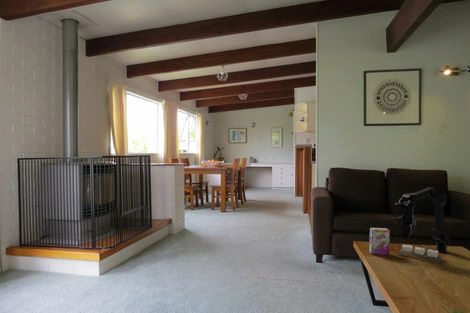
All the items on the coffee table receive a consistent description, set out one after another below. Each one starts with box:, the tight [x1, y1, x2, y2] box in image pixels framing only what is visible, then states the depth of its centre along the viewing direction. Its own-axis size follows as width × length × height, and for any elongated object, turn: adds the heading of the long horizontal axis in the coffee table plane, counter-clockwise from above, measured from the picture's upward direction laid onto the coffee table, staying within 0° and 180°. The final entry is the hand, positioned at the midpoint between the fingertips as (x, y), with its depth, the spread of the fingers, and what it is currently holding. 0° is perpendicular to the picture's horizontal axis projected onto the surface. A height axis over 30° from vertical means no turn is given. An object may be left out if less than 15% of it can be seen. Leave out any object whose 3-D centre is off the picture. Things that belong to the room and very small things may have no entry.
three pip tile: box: [401, 244, 413, 252], centre depth 196 cm, size 5×5×3 cm
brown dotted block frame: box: [398, 247, 443, 264], centre depth 191 cm, size 10×22×2 cm, turn 49°
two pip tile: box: [413, 246, 426, 255], centre depth 191 cm, size 5×5×3 cm
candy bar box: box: [368, 227, 391, 256], centre depth 197 cm, size 11×5×16 cm, turn 84°
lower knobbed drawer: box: [426, 248, 439, 258], centre depth 187 cm, size 5×5×3 cm
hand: (407, 237), depth 196 cm, fingers open, 7 cm apart
